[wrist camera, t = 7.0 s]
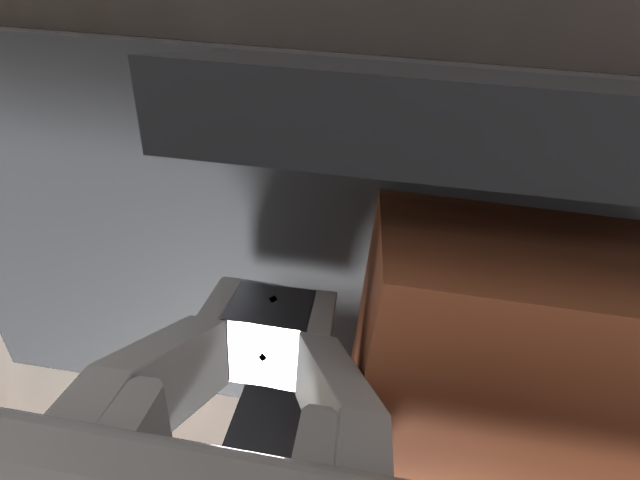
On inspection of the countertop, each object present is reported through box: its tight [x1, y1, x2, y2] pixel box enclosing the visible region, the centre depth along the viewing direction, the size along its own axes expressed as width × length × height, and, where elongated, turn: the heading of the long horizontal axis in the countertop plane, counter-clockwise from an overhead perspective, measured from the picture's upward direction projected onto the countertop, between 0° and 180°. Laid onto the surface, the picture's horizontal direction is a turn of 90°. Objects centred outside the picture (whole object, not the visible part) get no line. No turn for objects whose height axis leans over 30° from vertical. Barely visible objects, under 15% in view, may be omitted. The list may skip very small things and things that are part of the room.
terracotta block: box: [351, 189, 640, 480], centre depth 8 cm, size 6×6×4 cm
